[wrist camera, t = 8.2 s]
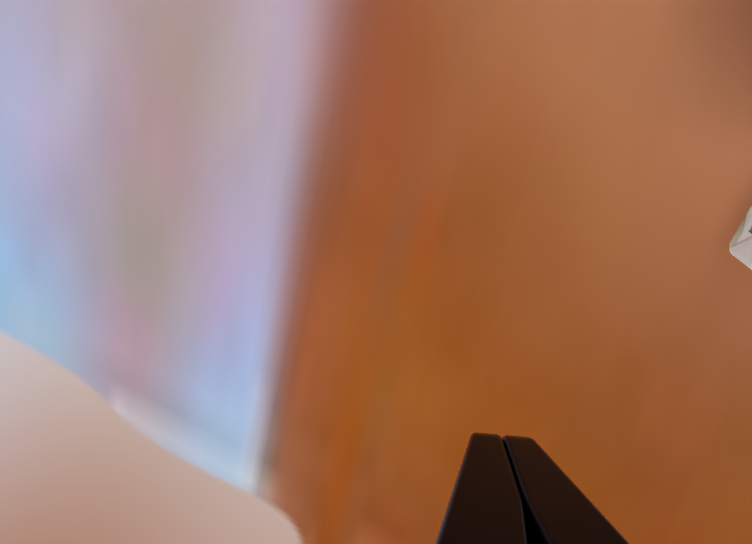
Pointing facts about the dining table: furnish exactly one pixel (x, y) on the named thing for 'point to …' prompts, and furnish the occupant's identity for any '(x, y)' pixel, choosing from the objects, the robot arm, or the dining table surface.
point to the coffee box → (743, 241)
